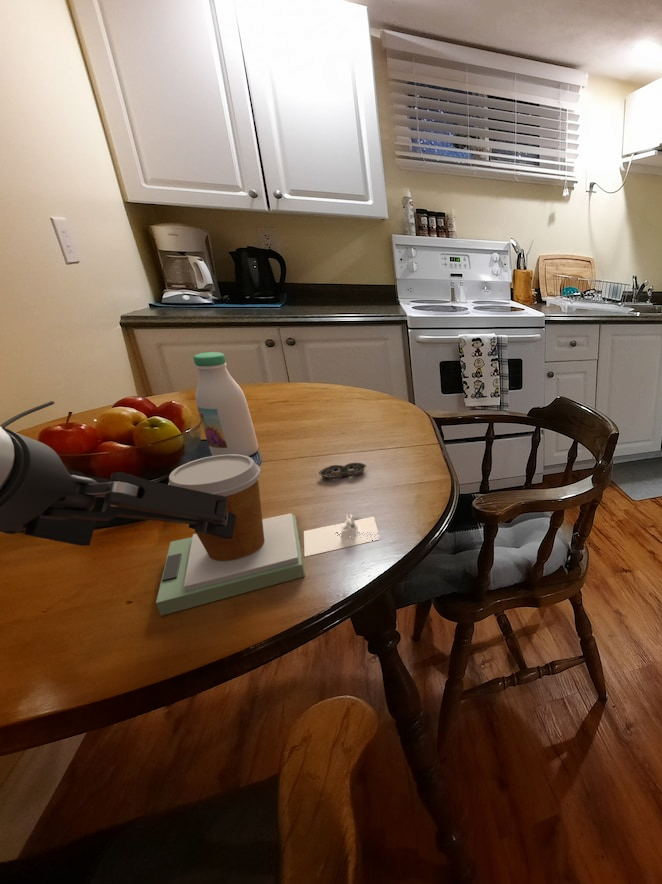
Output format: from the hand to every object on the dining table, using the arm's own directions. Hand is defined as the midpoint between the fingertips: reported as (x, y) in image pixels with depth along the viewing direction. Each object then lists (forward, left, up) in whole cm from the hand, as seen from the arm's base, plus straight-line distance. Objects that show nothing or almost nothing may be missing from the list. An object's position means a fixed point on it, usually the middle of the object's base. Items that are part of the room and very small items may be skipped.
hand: (161, 529), depth 54 cm
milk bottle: (-50, +3, -12) cm, 51 cm away
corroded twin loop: (-31, +20, -12) cm, 39 cm away
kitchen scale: (-9, +4, -12) cm, 16 cm away
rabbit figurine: (-10, +17, -12) cm, 23 cm away
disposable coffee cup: (-9, +5, -10) cm, 14 cm away
